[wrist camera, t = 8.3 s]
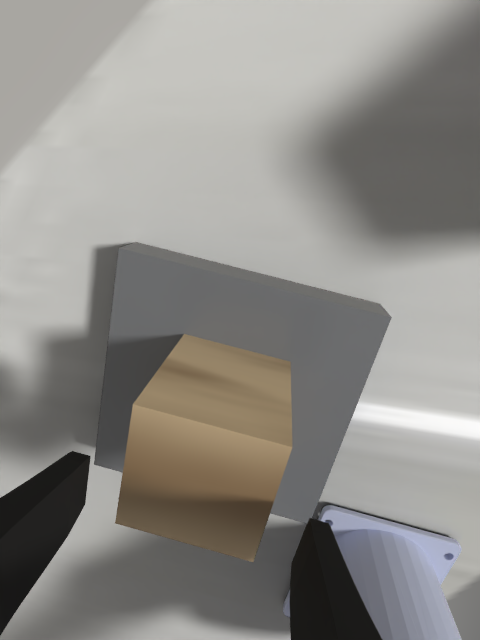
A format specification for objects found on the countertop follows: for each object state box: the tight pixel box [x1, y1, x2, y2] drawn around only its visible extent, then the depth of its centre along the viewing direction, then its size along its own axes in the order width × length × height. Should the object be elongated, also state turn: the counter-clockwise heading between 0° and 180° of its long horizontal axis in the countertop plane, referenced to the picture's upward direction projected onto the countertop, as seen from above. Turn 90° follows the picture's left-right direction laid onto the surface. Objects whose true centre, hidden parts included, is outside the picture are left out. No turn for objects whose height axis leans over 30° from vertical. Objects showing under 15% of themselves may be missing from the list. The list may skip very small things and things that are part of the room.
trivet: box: [94, 242, 391, 523], centre depth 19 cm, size 12×12×2 cm
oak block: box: [115, 334, 292, 562], centre depth 15 cm, size 5×5×6 cm
